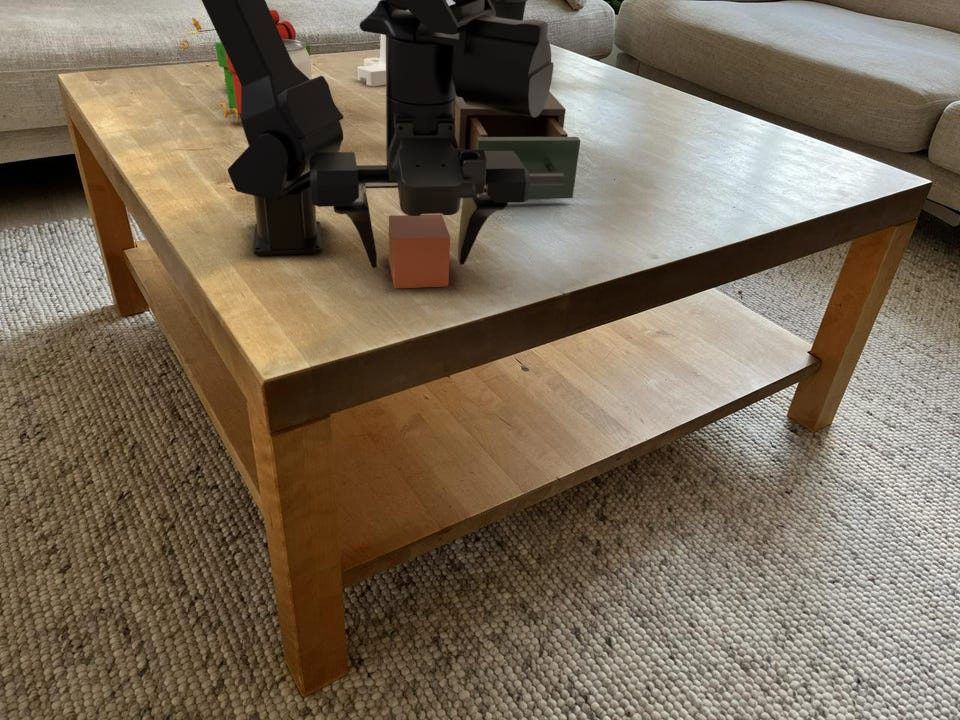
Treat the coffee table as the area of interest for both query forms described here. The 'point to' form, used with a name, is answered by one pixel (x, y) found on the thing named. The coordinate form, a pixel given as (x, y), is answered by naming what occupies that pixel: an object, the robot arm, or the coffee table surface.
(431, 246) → the block
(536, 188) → the drawer
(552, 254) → the coffee table surface
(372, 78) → the white post stand
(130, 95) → the coffee table surface
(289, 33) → the gift wrap
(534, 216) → the coffee table surface
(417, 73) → the robot arm
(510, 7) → the drinking cup
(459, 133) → the cabinet
